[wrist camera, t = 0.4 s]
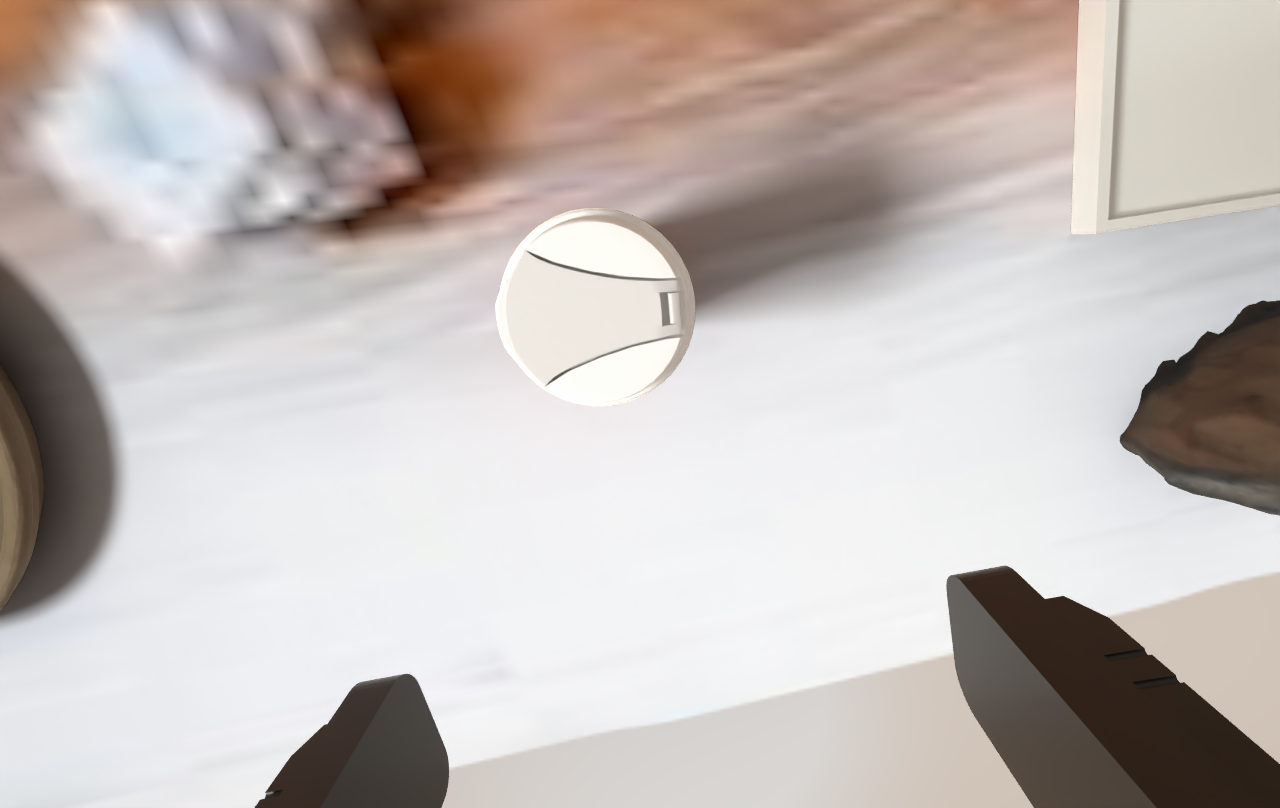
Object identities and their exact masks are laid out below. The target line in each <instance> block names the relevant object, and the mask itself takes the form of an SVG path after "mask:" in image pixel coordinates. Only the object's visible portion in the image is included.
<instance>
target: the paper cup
mask: <svg viewBox="0 0 1280 808" xmlns="http://www.w3.org/2000/svg"><path fill="white" fill-rule="evenodd" d="M495 307H496V320H497V324H498V329H499V333H500V337H501V339H502V341H503V344H504V346H505V349H506V351H507V352H508V353H509V354H510V355H511V356H512V357H513V359H514V360H515V361H516V362H517V363H518V365H519V366H520V367H521V368H522V369H523V371H524V372H525V373H526V374H527V375H528V376H529V377H530V378H531V379H532V380H533V381H534V382H535V383H536V384H537V385H539V386H540V387H542V388H543V389H545V390H546V391H548V392H549V393H551V394H553V395H555V396H557V397H559V398H561V399H563V400H566V401H570V402H573V403H576V404H581V405H588V406H611V405H618V404H623V403H626V402H629V401H632V400H636V399H638V398H640V397H642V396H644V395H646V394H648V393H649V392H651V391H652V390H654V389H655V388H656V387H658V386H659V385H661V384H662V383H663V382H664V381H665V380H666V379H667V378H668V377H669V376H670V375H671V374H672V373H673V371H674V370H675V369H676V367H677V366H678V365H679V363H680V362H681V360H682V358H683V356H684V354H685V353H686V351H687V349H688V346H689V343H690V340H691V337H692V334H693V328H694V323H695V297H694V290H693V285H692V282H691V279H690V276H689V272H688V270H687V268H686V266H685V264H684V262H683V260H682V258H681V256H680V255H679V254H678V252H677V251H676V249H675V248H674V247H673V245H672V244H671V243H670V242H669V241H668V240H667V239H666V238H665V237H664V236H663V235H662V234H661V233H660V232H659V231H658V230H656V229H655V228H654V227H652V226H651V225H650V224H648V223H647V222H645V221H643V220H641V219H639V218H637V217H635V216H633V215H630V214H627V213H624V212H621V211H618V210H611V209H604V208H584V209H579V210H573V211H569V212H566V213H563V214H560V215H558V216H555V217H553V218H551V219H550V220H548V221H546V222H544V223H543V224H541V225H540V226H538V227H537V228H536V229H535V230H533V231H532V232H531V233H530V234H528V236H527V237H526V238H525V239H524V240H523V241H522V242H521V244H520V245H519V246H518V247H517V249H516V250H515V252H514V254H513V255H512V257H511V258H510V260H509V263H508V265H507V267H506V270H505V272H504V275H503V279H502V283H501V287H500V291H499V295H498V298H497V301H496V305H495Z"/></svg>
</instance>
